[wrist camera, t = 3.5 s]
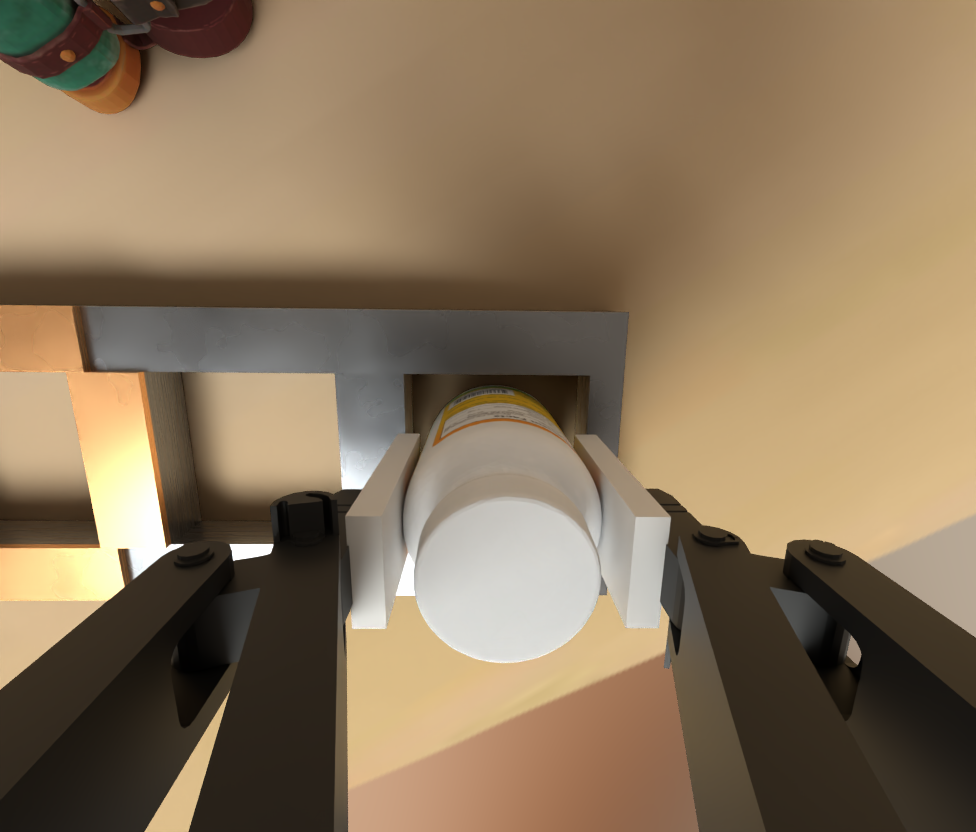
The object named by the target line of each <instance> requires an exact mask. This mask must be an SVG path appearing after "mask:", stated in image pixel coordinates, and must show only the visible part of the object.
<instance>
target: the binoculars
mask: <svg viewBox="0 0 976 832" xmlns="http://www.w3.org/2000/svg"><path fill="white" fill-rule="evenodd" d="M110 1H111V2H112V3H113V4H114V5H115V6H116V7H117V8H118V9H119V10H120V11H121V12H122V13H123V14H124V15H125V16H126V17H127V18H128V19H129V20H130V21H131V22H132V23H133V24H127V25H126V24H124V23H123V22H121V21H120V20H119V19H117V18H116V17H115V16H113V15H112V14H111V13H109V12H108V11H107V10H105V9H103V8H102V7H100V6H98V5H96V4H95V3H94V2H93V0H0V60H2V61H3V62H5V63H7V64H8V65H10V66H11V67H13V68H15V69H16V70H18V71H19V72H22V73H25V74H28V75H31V76H33V77H34V78H36V79H37V80H39V81H41V82H42V83H44V84H46V85H48V86H50V87H53V88H56V89H59V90H61V91H62V92H64V93H65V94H67V95H68V96H70V97H72V98H73V99H75V100H77V101H78V102H80V103H82V104H83V105H85V106H87V107H88V108H90V109H92V110H94V111H97V112H99V113H105V114H114V113H118V112H120V111H123V110H124V109H126V108H127V107H128V106H129V105H130V104H131V102H132V101H133V100H134V98H135V95H136V92H137V90H138V87H139V84H140V72H141V61H140V53H139V50H143V49H148V48H151V47H153V46H155V45H157V44H158V45H159V46H161V47H162V48H164V49H166V50H168V51H170V52H173V53H175V54H178V55H183V56H187V57H194V58H209V57H217V56H220V55H223V54H226V53H229V52H230V51H232V50H233V49H235V48H236V47H238V45H239V44H240V43H241V42H242V41H243V40H244V39H245V37H246V35H247V34H248V32H249V30H250V26H251V23H252V16H253V7H252V2H251V0H110Z"/></svg>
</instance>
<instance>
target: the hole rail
mask: <svg viewBox="0 0 976 832" xmlns="http://www.w3.org/2000/svg"><path fill="white" fill-rule="evenodd" d="M628 318H629V312H597V311H510V310H422V309H335V308H248V307H161V306H74V305H0V372H66V375H67V380H68V385H69V390H70V395H71V400H72V405H73V410H74V415H75V420H76V425H77V431H78V436H79V441H80V446H81V451H82V456H83V461H84V466H85V471H86V476H87V481H88V486H89V491H90V496H91V501H92V506H93V512H94V517H95V521H47V520H0V601H67V600H109V599H111V598H112V597H113V596H114V595H115V594H117V593H118V592H119V591H120V590H121V589H123V588H124V587H125V586H126V585H127V584H129V583H130V582H131V581H132V580H133V579H135V578H136V577H137V576H138V575H139V574H141V573H142V572H143V571H144V570H145V569H147V568H148V567H149V566H150V565H151V564H153V563H154V562H155V561H156V560H158V559H159V558H160V557H162V556H163V555H165V554H166V553H168V552H169V551H172V550H174V549H177V548H179V547H181V546H182V545H184V544H188V543H191V544H192V543H193V542H196V541H203V542H204V541H221V542H225V543H227V544H229V545H230V546H231V549H232V554H233V560H239V559H245V558H251V557H257V556H262V555H267V554H270V553H271V550H272V547H273V543H274V541H273V532H272V522H271V521H202V519H201V512H200V505H199V498H198V491H197V484H196V476H195V469H194V462H193V455H192V448H191V441H190V434H189V427H188V419H187V412H186V405H185V398H184V391H183V384H182V377H181V372H243V373H335V383H336V399H337V414H338V430H339V446H340V461H341V477H342V490H343V489H363V488H364V486H365V484H366V483H367V481H368V480H369V478H370V477H371V475H372V473H373V472H374V470H375V469H376V467H377V466H378V464H379V462H380V461H381V459H382V458H383V456H384V455H385V453H386V451H387V450H388V448H389V447H390V445H391V444H392V442H393V441H394V439H395V437H396V436H397V434H398V433H403V434H413V402H412V374H475V375H578V388H577V406H576V423H575V435H597V436H598V437H599V438H600V439H601V441H602V442H603V443H604V444H605V445H606V446H607V447H608V448H609V449H610V450H611V452H612V453H613V454H614V455H615V456H616V457H617V458H618V445H619V432H620V420H621V407H622V394H623V382H624V369H625V356H626V344H627V331H628ZM414 566H415V565H414V564H413V562H412V560H411V557H410V555H409V552H408V555H407V559H406V562H405V565H404V569H403V572H402V576H401V579H400V583H399V586H398V590H397V593H396V595H415V592H414ZM599 595H607V586H606V584H605V581H604V579H603V577H602V575H601V586H600V593H599Z"/></svg>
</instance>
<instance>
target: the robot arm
mask: <svg viewBox="0 0 976 832" xmlns="http://www.w3.org/2000/svg"><path fill="white" fill-rule="evenodd" d="M574 450H575V451H576V453H577V454H578V456H579V457H580V458H581V460H582V461H583V463H584V465H585V466H586V468H587V470H588V471H589V473H590V475H591V477H592V479H593V481H594V483H595V486H596V488H597V491H598V494H599V499H600V503H601V511H602V525H601V533H600V538H599V542H598V546H597V551H598V555H599V559H600V564H601V575H602V577H603V579H604V581H605V584H606V586H607V588H608V590H609V592H610V595H611V597H612V599H613V601H614V603H615V606H616V608H617V610H618V612H619V614H620V617H621V619H622V621H623V623H624V625H625V628H659V622H660V613H661V605H662V606H663V608H664V609H665V611H666V613H667V614H668V616H669V618H670V619H669V627H668V636H667V645H666V653H665V662H664V668H668V669H669V667H670V663H672V669H673V675H674V682H675V688H676V694H677V700H678V706H679V712H680V717H681V724H682V730H683V736H684V741H685V748H686V754H687V760H688V766H689V772H690V778H691V784H692V791H693V797H694V803H695V809H696V815H697V821H698V827H699V832H976V638H975V637H974V636H972V635H971V634H969V633H968V632H967V631H965V630H964V629H962V628H961V627H959V626H958V625H956V624H955V623H954V622H952V621H951V620H949V619H948V618H946V617H945V616H943V615H942V614H940V613H939V612H938V611H936V610H935V609H933V608H932V607H930V606H929V605H927V604H926V603H925V602H923V601H922V600H920V599H919V598H917V597H916V596H914V595H913V594H912V593H910V592H909V591H907V590H906V589H904V588H903V587H901V586H900V585H898V584H897V583H896V582H894V581H893V580H891V579H890V578H888V577H887V576H885V575H884V574H883V573H881V572H880V571H878V570H877V569H875V568H874V567H872V566H871V565H870V564H868V563H867V562H865V561H864V560H862V559H861V558H859V557H858V556H856V555H854V554H853V553H851V552H849V551H847V550H845V549H842V548H840V547H837V546H835V545H834V544H832V543H829V542H825V543H824V542H823V541H820V540H813V541H812V540H794V541H792V542H790V543H788V544H787V550H786V555H785V559H779V558H773V557H766V556H760V555H755V554H751V553H750V551H749V550H748V548H747V546H746V544H745V543H744V542H743V541H742V540H741V539H740V538H739V537H738V536H736V535H735V534H733V533H731V532H728V531H726V530H723V529H720V528H716V527H711V526H704V525H701V524H700V523H699V522H698V521H697V520H696V519H695V518H694V517H693V516H692V515H691V514H690V513H689V512H687V510H686V509H685V508H684V507H683V506H681V504H680V503H679V502H678V501H677V500H676V499H675V498H674V497H673V496H671V495H669V494H667V493H665V492H663V491H661V490H659V489H645V488H644V487H643V486H642V485H641V483H640V482H639V481H638V480H637V479H636V478H635V477H634V476H633V475H632V474H631V472H630V471H629V470H628V469H627V468H626V467H625V466H624V465H623V464H622V463H621V461H620V460H619V459H618V458H617V457H616V456H615V455H614V454H613V453H612V452H611V450H610V449H609V448H608V447H607V446H606V445H605V444H604V443H603V442H602V441H601V439H600V438H599V437H598V436H597V435H575V437H574ZM419 458H420V434H403V433H398V434H397V436H396V437H395V439H394V441H393V442H392V444H391V445H390V447H389V448H388V450H387V451H386V453H385V455H384V456H383V458H382V459H381V461H380V462H379V464H378V466H377V467H376V469H375V470H374V472H373V473H372V475H371V477H370V478H369V480H368V481H367V483H366V484H365V486H364V488H363V489H343V490H341V491H339V492H337V493H335V494H334V495H333V494H331V493H328V492H322V491H305V492H299V493H293V494H290V495H287V496H284V497H282V498H280V499H278V500H276V501H274V502H273V503H272V505H271V506H270V512H271V522H272V532H273V541H274V543H273V547H272V550H271V553H270V554H267V555H262V556H257V557H251V558H245V559H239V560H233V554H232V549H231V546H230V545H229V544H227V543H225V542H221V541H204V542H203V541H196V542H193V543H192V544H191V543H188V544H184V545H182V546H181V547H179V548H177V549H174V550H172V551H169V552H168V553H166V554H165V555H163V556H162V557H160V558H159V559H158V560H156V561H155V562H154V563H153V564H151V565H150V566H149V567H148V568H147V569H145V570H144V571H143V572H142V573H141V574H139V575H138V576H137V577H136V578H135V579H133V580H132V581H131V582H130V583H129V584H127V585H126V586H125V587H124V588H123V589H121V590H120V591H119V592H118V593H117V594H115V595H114V596H113V597H112V598H111V599H109V600H108V601H107V602H106V603H104V604H103V605H102V606H101V607H100V608H98V609H97V610H96V611H95V612H94V613H92V614H91V615H90V616H89V617H88V618H86V619H85V620H84V621H83V622H82V623H80V624H79V625H78V626H77V627H76V628H74V629H73V630H72V631H71V632H70V633H68V634H67V635H66V636H65V637H64V638H62V639H61V640H60V641H59V642H57V643H56V644H55V645H54V646H53V647H51V648H50V649H49V650H48V651H47V652H45V653H44V654H43V655H42V656H41V657H39V658H38V659H37V660H36V661H35V662H33V663H32V664H31V665H30V666H29V667H27V668H26V669H25V670H24V671H23V672H21V673H20V674H19V675H18V676H17V677H15V678H14V679H13V680H12V681H10V682H9V683H8V684H7V685H6V686H4V687H3V688H2V689H1V690H0V832H144V831H145V830H146V828H147V826H148V825H149V823H150V821H151V820H152V818H153V817H154V815H155V813H156V812H157V810H158V808H159V807H160V805H161V803H162V802H163V800H164V798H165V797H166V795H167V793H168V792H169V790H170V788H171V787H172V785H173V783H174V782H175V780H176V779H177V777H178V775H179V774H180V772H181V770H182V769H183V767H184V765H185V764H186V762H187V760H188V759H189V757H190V755H191V754H192V752H193V750H194V749H195V747H196V746H197V744H198V742H199V741H200V739H201V737H202V736H203V734H204V732H205V731H206V729H207V727H208V726H209V724H210V722H211V721H212V719H213V717H214V716H215V714H216V713H217V711H218V709H219V708H220V706H221V704H222V703H223V701H224V699H225V698H226V696H227V694H228V693H229V691H230V693H229V696H228V700H227V703H226V706H225V710H224V713H223V717H222V720H221V723H220V727H219V730H218V734H217V737H216V740H215V744H214V747H213V751H212V754H211V757H210V761H209V764H208V768H207V771H206V774H205V778H204V781H203V785H202V788H201V791H200V795H199V798H198V801H197V805H196V808H195V812H194V815H193V818H192V822H191V825H190V829H189V832H348V765H347V641H346V625H345V621H346V618H347V616H348V614H349V611H350V609H351V616H352V629H386V628H387V625H388V621H389V618H390V614H391V611H392V607H393V604H394V600H395V597H396V593H397V590H398V586H399V583H400V579H401V576H402V572H403V569H404V565H405V562H406V559H407V555H408V550H407V546H406V543H405V539H404V533H403V508H404V502H405V497H406V494H407V489H408V486H409V483H410V480H411V478H412V475H413V472H414V470H415V468H416V465H417V463H418V460H419ZM851 635H852V636H853V638H854V639H855V640H856V641H857V644H858V646H859V648H860V650H861V654H862V655H861V659H860V662H859V664H858V665H857V664H855V663H854V662H853V661H852V660H851V659H850V658H849V657H848V656H847V650H848V646H849V641H850V637H851Z"/></svg>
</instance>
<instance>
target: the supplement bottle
mask: <svg viewBox="0 0 976 832" xmlns="http://www.w3.org/2000/svg"><path fill="white" fill-rule="evenodd" d="M601 525H602V511H601V503H600V499H599V494H598V491H597V488H596V486H595V483H594V481H593V479H592V477H591V475H590V473H589V471H588V470H587V468H586V466H585V465H584V463H583V461H582V460H581V458H580V457H579V456H578V454H577V453H576V451H575V450H574V449H573V447H572V446H571V444H570V443H569V441H568V440H567V438H566V437H565V435H564V434H563V432H562V431H561V429H560V428H559V426H558V425H557V423H556V422H555V420H554V419H553V417H552V416H551V414H550V413H549V412H548V411H547V409H546V408H545V407H544V406H543V405H542V404H541V403H540V402H539V401H538V400H536V399H535V398H534V397H532V396H531V395H529V394H528V393H526V392H524V391H521V390H519V389H516V388H512V387H508V386H502V385H487V386H480V387H476V388H473V389H470V390H468V391H466V392H463V393H462V394H460V395H458V396H457V397H455V398H454V399H453V400H451V401H450V402H449V403H448V404H447V405H446V406H445V407H444V408H443V409H442V410H441V412H440V413H439V415H438V416H437V418H436V419H435V421H434V423H433V425H432V427H431V429H430V432H429V435H428V437H427V440H426V442H425V445H424V448H423V450H422V453H421V455H420V458H419V460H418V463H417V465H416V468H415V470H414V472H413V475H412V478H411V480H410V483H409V486H408V489H407V494H406V497H405V502H404V508H403V533H404V539H405V543H406V546H407V550H408V552H409V555H410V557H411V560H412V562H413V564H414V565H415V566H414V592H415V597H416V601H417V604H418V607H419V610H420V612H421V614H422V616H423V618H424V619H425V621H426V623H427V624H428V625H429V627H430V628H431V629H432V631H433V632H434V633H435V634H436V635H437V636H438V637H439V638H440V639H441V640H442V641H444V642H445V643H446V644H448V645H449V646H450V647H451V648H453V649H455V650H457V651H458V652H461V653H463V654H465V655H467V656H470V657H472V658H475V659H479V660H483V661H488V662H498V663H513V662H521V661H527V660H531V659H535V658H538V657H541V656H543V655H546V654H548V653H550V652H552V651H554V650H556V649H557V648H559V647H561V646H562V645H564V644H565V643H567V642H568V641H570V640H571V639H572V638H573V637H574V636H575V635H576V634H577V633H578V632H579V631H580V630H581V629H582V627H583V626H584V625H585V623H586V622H587V620H588V619H589V617H590V615H591V614H592V612H593V610H594V608H595V605H596V603H597V600H598V596H599V593H600V586H601V564H600V559H599V555H598V551H597V546H598V542H599V538H600V533H601Z"/></svg>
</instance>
